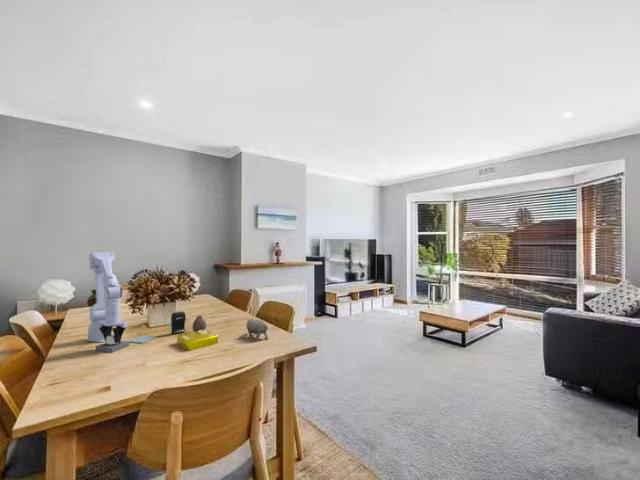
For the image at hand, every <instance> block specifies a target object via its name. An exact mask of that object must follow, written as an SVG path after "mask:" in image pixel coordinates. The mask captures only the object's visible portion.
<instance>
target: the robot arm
mask: <svg viewBox="0 0 640 480" xmlns="http://www.w3.org/2000/svg"><path fill="white" fill-rule="evenodd" d="M115 260H116V259H115V253H114V252H113V251H105V252H101V251H99V252H97V251H96V252H93V251H91V252H90V253H89V257H88V261H89V264H88V265H89V269H90V270H91V271H94V277H95V278H94V281H95V296H96V297H95V298H96V302H95V303H94V304H93V305H92V306H91V307H90V309H89V321H90V322H91V323H90V324H89V326H88V327H87V328H88V331H87V335H88V336H87V339H86V342H94V343H95V342H96V343H103V342H104V343H106V336H107V335H110V334H112V332H113V334H114V336H115V343H118V342H120V341H122V337H123V334H124V333H125V330H126V329H127V328H128V326H129V325H128V322H127V321H122V320H121V299H122V298H123V287H122V285H120V283H119V282H118V279H117V276H116V274H113V265H114V263H115Z"/></svg>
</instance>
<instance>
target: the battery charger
mask: <svg viewBox="0 0 640 480" xmlns="http://www.w3.org/2000/svg"><path fill="white" fill-rule="evenodd" d="M186 319H187V317H186V313H185V312H184V311H183V310H182V311H173V312H172V313H171V315H170V329H171V330H170V334H171V335H180V334H185V332H186V329H185V325H186V323H185V322H187V321H186Z"/></svg>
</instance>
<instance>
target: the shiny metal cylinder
mask: <svg viewBox="0 0 640 480" xmlns="http://www.w3.org/2000/svg"><path fill="white" fill-rule="evenodd" d="M105 343H106V346H111V347H113V346H115V345H118V344H119V342H118V343H115V336H114V333H111V334H110V335H107V336H106V342H105Z"/></svg>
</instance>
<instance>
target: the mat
mask: <svg viewBox="0 0 640 480" xmlns="http://www.w3.org/2000/svg"><path fill="white" fill-rule="evenodd" d="M157 338H158V337H157V336H151V335H150V336H149V335H140V336H138V337H134V338H132V339H130V340H128V341H129V344H130V343H131V344H141V345H142V344H145V343H148V342H150V341H152V340H156V339H157Z"/></svg>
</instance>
